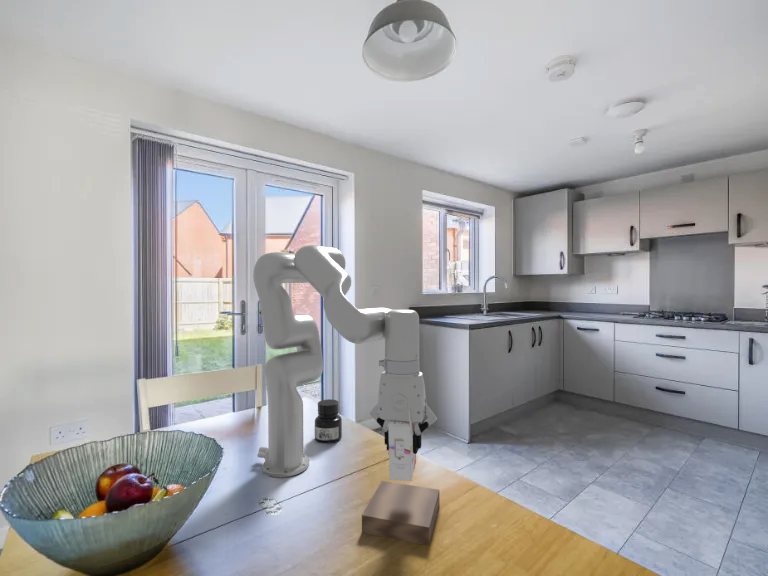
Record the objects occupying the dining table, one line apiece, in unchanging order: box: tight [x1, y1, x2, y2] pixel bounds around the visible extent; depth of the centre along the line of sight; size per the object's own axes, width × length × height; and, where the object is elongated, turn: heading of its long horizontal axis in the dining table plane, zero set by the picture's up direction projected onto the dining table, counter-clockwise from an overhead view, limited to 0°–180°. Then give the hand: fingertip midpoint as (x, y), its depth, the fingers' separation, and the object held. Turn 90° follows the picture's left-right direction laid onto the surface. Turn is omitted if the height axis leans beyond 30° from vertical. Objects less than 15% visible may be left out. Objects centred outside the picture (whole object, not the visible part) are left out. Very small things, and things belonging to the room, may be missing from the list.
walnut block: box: [361, 480, 440, 546], centre depth 82 cm, size 14×14×4 cm
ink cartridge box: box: [388, 409, 417, 482], centre depth 82 cm, size 9×5×15 cm, turn 168°
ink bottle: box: [314, 399, 343, 444], centre depth 124 cm, size 10×9×12 cm
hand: (402, 448), depth 82 cm, fingers closed on ink cartridge box, 5 cm apart
